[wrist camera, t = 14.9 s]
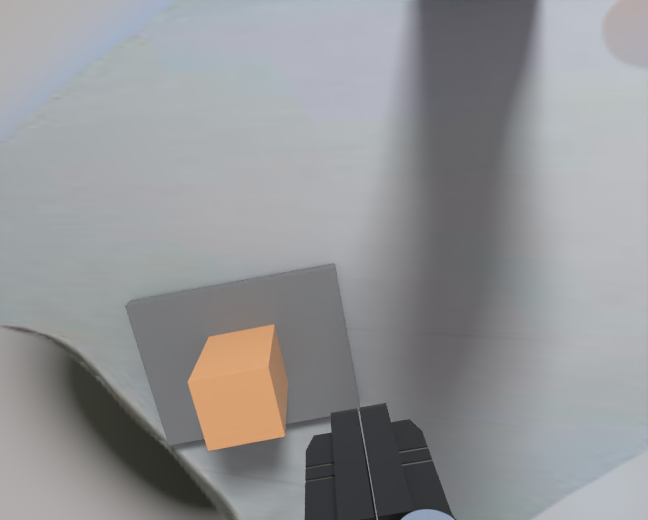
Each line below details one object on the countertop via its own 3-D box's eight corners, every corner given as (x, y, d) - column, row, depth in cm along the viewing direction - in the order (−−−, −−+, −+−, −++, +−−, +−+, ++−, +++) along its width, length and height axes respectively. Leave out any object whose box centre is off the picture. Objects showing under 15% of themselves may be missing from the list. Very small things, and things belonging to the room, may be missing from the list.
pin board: (334, 263, 40) (341, 290, 33) (359, 403, 43) (370, 454, 36) (130, 300, 40) (93, 335, 33) (172, 437, 43) (147, 494, 36)
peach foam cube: (274, 324, 40) (268, 367, 32) (287, 382, 41) (285, 436, 34) (208, 336, 40) (187, 382, 32) (224, 394, 41) (207, 451, 34)
